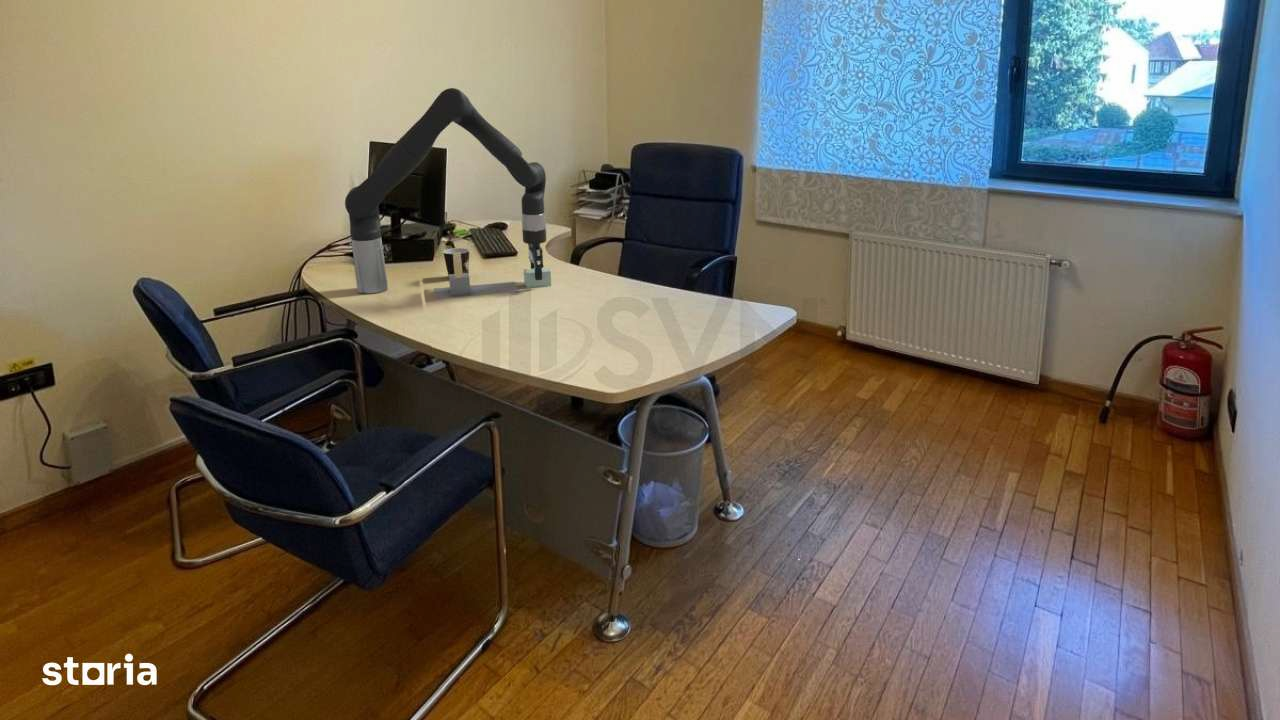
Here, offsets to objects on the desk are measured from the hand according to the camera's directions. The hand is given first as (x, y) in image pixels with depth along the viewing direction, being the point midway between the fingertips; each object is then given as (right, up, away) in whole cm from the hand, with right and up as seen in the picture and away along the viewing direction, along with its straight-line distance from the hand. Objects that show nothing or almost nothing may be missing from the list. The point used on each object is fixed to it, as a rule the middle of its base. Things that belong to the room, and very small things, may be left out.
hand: (536, 276), depth 261 cm
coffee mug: (-27, 0, +13) cm, 30 cm away
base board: (-19, -6, -4) cm, 20 cm away
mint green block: (0, -4, +1) cm, 4 cm away
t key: (-24, 0, -7) cm, 25 cm away
